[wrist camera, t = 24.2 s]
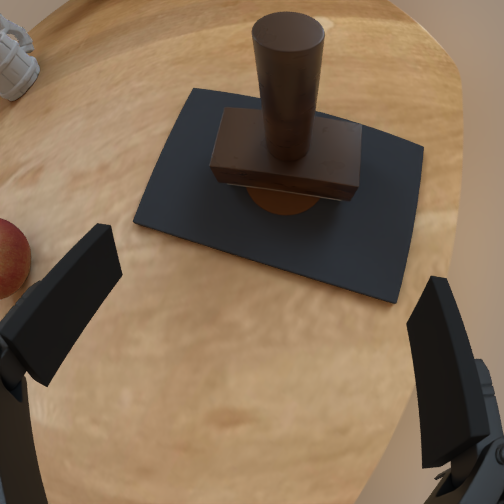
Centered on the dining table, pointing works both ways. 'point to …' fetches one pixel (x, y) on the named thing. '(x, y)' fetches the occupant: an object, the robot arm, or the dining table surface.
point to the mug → (15, 61)
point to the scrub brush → (288, 120)
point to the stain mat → (288, 206)
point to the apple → (12, 258)
